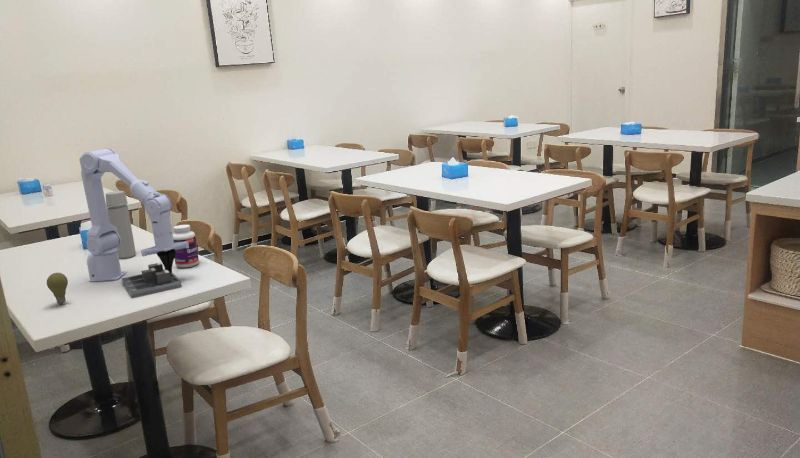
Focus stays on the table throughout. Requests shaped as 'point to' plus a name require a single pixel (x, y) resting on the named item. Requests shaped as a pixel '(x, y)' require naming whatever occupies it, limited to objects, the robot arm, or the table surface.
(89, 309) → the table surface
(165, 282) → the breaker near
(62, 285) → the light bulb
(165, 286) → the panel
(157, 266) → the breaker far
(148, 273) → the block
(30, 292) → the table surface
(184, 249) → the pill bottle
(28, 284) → the table surface
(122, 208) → the water bottle
